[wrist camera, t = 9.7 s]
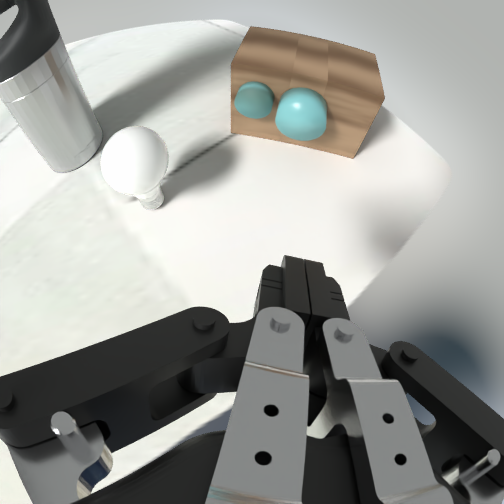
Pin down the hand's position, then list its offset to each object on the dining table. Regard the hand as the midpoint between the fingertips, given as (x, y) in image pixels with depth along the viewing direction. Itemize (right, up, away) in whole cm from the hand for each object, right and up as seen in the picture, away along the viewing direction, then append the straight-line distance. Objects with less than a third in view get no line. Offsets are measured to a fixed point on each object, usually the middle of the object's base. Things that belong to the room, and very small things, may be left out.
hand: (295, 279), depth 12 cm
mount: (+4, +18, +25) cm, 31 cm away
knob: (+5, +20, +21) cm, 29 cm away
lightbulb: (-13, +7, +20) cm, 25 cm away
